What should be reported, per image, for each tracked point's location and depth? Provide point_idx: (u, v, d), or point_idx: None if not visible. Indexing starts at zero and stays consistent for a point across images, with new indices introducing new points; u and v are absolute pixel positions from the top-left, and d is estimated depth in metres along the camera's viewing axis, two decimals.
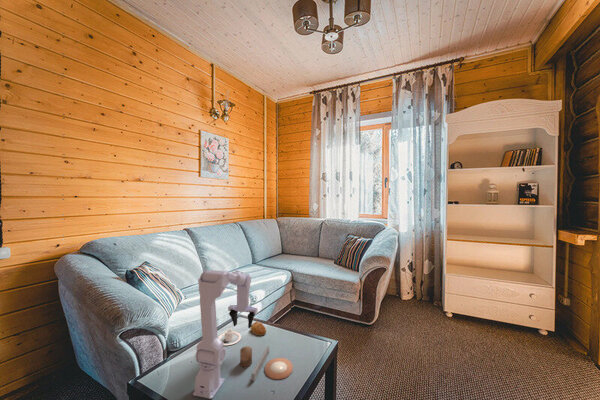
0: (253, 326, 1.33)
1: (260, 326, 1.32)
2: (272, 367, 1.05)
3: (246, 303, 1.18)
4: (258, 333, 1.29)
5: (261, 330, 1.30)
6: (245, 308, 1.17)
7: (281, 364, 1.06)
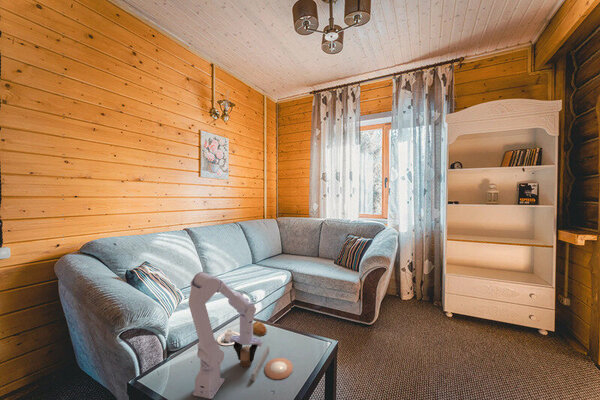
0: (254, 326, 1.33)
1: (261, 326, 1.33)
2: (272, 367, 1.05)
3: (250, 335, 1.06)
4: (259, 333, 1.30)
5: (262, 330, 1.30)
6: (249, 340, 1.05)
7: (281, 364, 1.06)
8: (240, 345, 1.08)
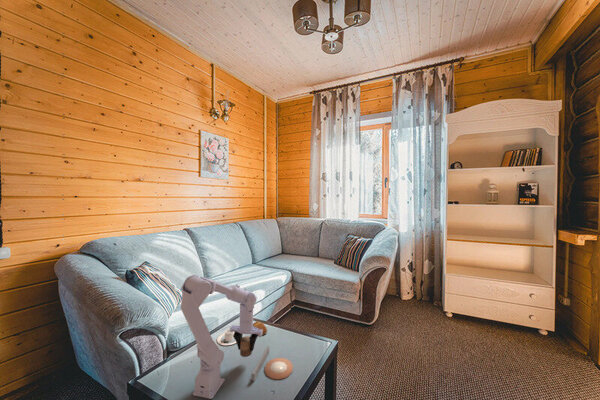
0: (254, 326, 1.33)
1: (261, 325, 1.33)
2: (272, 367, 1.05)
3: (250, 324, 1.06)
4: None
5: (262, 329, 1.31)
6: (249, 330, 1.05)
7: (281, 364, 1.06)
8: (240, 335, 1.08)
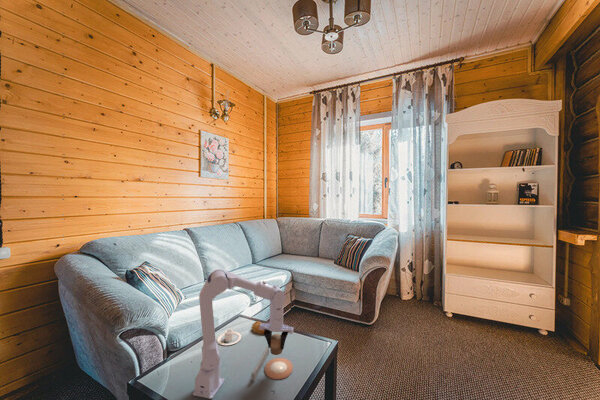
0: (254, 325, 1.33)
1: None
2: (272, 367, 1.05)
3: (281, 322, 1.03)
4: (259, 332, 1.30)
5: (262, 329, 1.31)
6: (280, 327, 1.02)
7: (281, 364, 1.06)
8: (270, 333, 1.05)
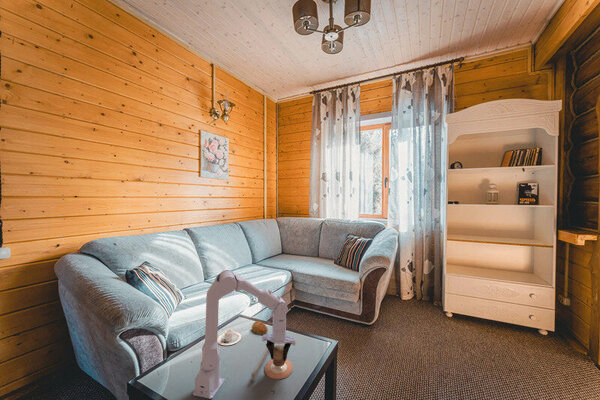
0: (254, 325, 1.34)
1: (261, 325, 1.33)
2: (272, 367, 1.05)
3: (284, 333, 1.03)
4: (260, 332, 1.30)
5: (263, 329, 1.31)
6: (283, 339, 1.02)
7: None
8: (273, 344, 1.05)
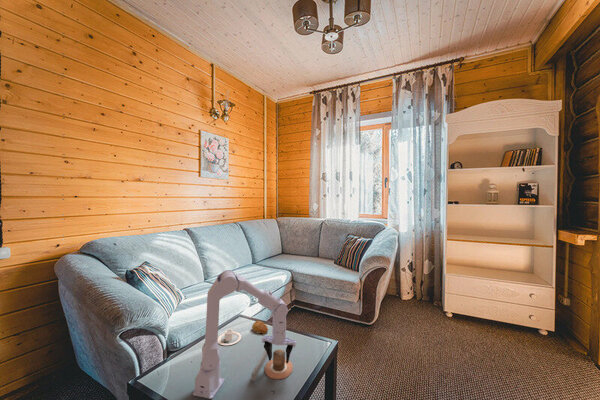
0: (255, 325, 1.34)
1: (262, 325, 1.34)
2: (272, 367, 1.05)
3: (283, 335, 1.03)
4: (260, 332, 1.31)
5: (263, 328, 1.31)
6: (282, 341, 1.02)
7: None
8: (270, 345, 1.05)
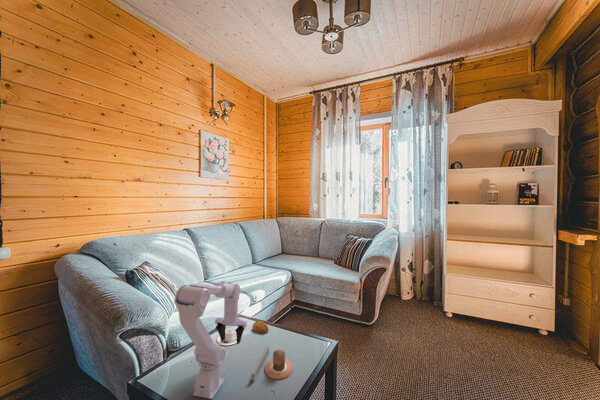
0: (255, 325, 1.34)
1: (262, 324, 1.34)
2: (272, 367, 1.05)
3: (234, 316, 1.06)
4: (261, 331, 1.31)
5: (264, 328, 1.32)
6: (233, 322, 1.06)
7: None
8: (223, 326, 1.09)
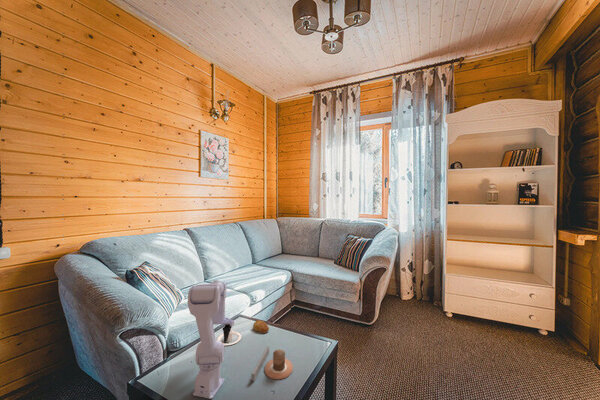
0: (255, 324, 1.35)
1: (263, 324, 1.35)
2: (272, 367, 1.05)
3: (221, 315, 1.07)
4: (261, 331, 1.31)
5: (264, 328, 1.32)
6: (220, 320, 1.07)
7: None
8: None
